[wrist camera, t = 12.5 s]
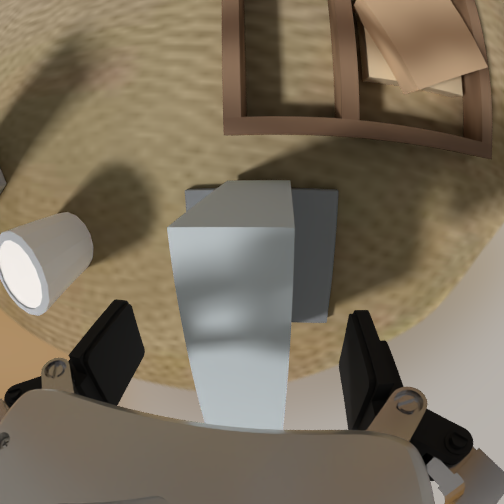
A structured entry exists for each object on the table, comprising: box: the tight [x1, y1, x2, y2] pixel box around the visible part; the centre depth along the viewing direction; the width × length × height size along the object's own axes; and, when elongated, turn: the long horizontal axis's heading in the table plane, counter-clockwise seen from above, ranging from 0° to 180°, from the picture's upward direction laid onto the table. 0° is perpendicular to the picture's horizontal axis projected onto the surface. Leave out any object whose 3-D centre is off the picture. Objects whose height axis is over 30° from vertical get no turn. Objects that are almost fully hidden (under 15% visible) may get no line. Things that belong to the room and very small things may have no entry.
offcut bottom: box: [354, 0, 463, 97], centre depth 13 cm, size 7×7×2 cm
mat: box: [185, 188, 338, 323], centre depth 20 cm, size 10×10×1 cm
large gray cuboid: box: [167, 180, 295, 430], centre depth 15 cm, size 11×4×10 cm, turn 2°
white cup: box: [0, 212, 93, 316], centre depth 19 cm, size 7×7×7 cm
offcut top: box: [352, 0, 488, 94], centre depth 11 cm, size 6×6×2 cm
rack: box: [222, 0, 492, 159], centre depth 13 cm, size 15×18×2 cm
